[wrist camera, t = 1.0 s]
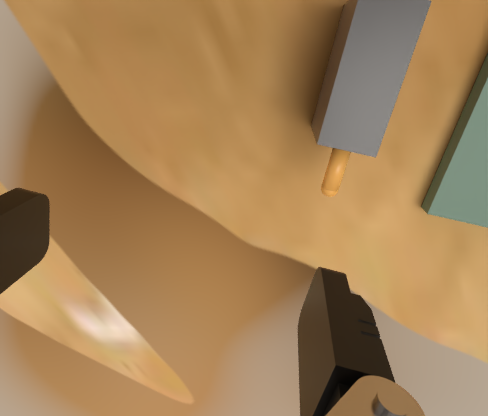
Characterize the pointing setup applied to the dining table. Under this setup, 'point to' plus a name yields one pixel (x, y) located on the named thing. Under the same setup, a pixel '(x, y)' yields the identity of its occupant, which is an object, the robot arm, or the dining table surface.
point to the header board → (465, 163)
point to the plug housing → (364, 79)
